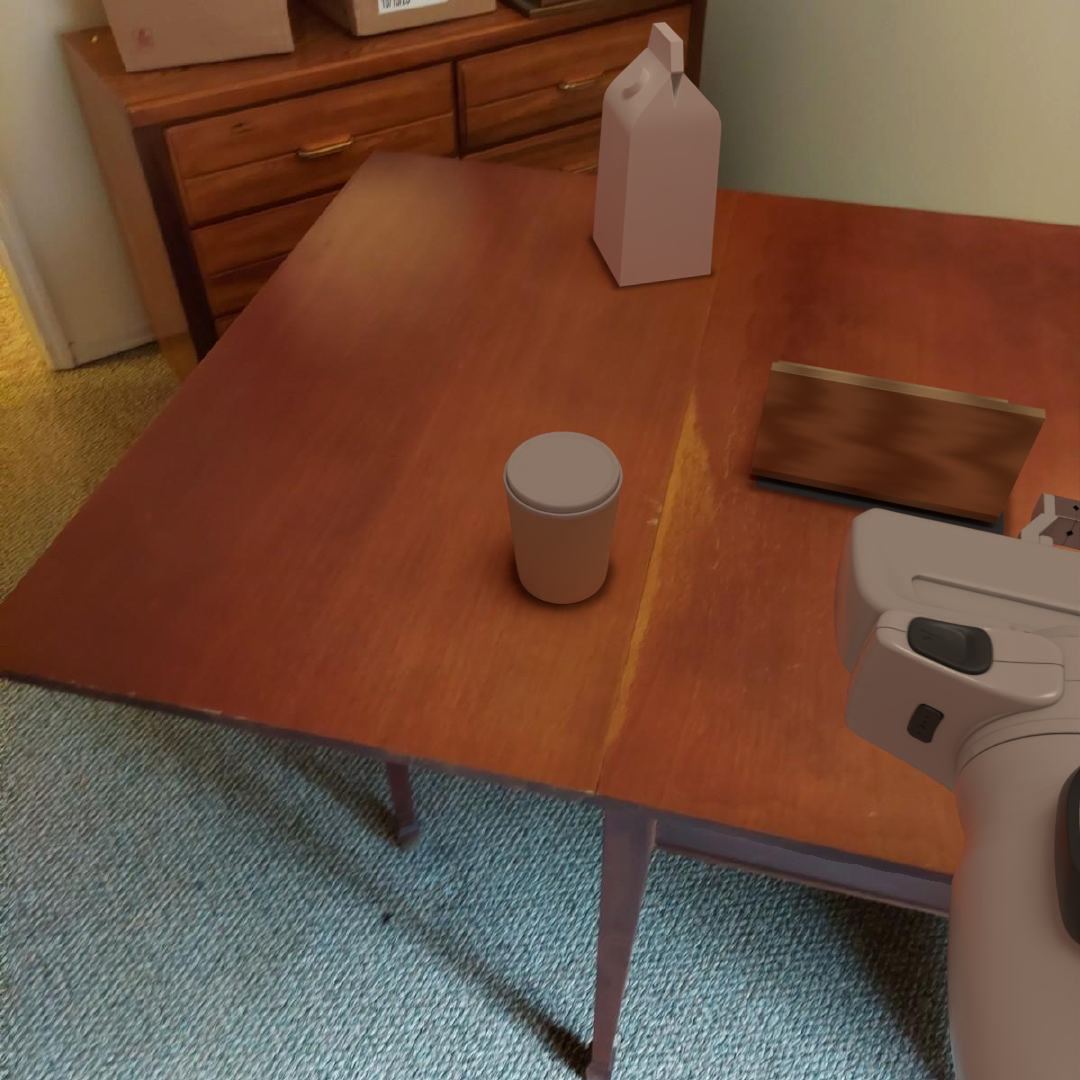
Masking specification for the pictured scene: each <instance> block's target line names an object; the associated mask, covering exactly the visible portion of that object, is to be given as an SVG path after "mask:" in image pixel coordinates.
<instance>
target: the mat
mask: <svg viewBox="0 0 1080 1080" xmlns="http://www.w3.org/2000/svg"><path fill="white" fill-rule="evenodd" d="M757 477H758V478H757V481H756V485H755V487H758V488H761V489H767V490H770V491H771V490H772V491H777V492H781V493H786V494H790V495H796V496H799V497H804V498H809V499H814V500H819V501H823V502H827V503H833V504H838V505H841V506H845V507H850V508H851V507H852V508H855V509H860V510H864V511H867V510H869V509H873V508H878V509H884V510H888V511H893V512H897V513H901V514H906V515H911V516H915V517H920V518H925V519H929V520H934V521H938V522H943V523H948V524H952V525H957V526H961V527H966V528H971V529H975V530H980V531H985V532H989V533H994V534H998V535H1003V536H1004V516H1005V515H1004V514H1005V513H1004V509H1005V507H1004V508H1003V510H1002V512H1001V515H1000V517H999V519H998V521H997V523H991V522H986V521H981V520H976V519H971V518H967V517H962V516H957V515H952V514H947V513H942V512H937V511H932V510H927V509H922V508H917V507H912V506H907V505H902V504H897V503H892V502H887V501H882V500H877V499H873V498H868V497H863V496H858V495H853V494H848V493H843V492H838V491H833V490H828V489H823V488H818V487H813V486H808V485H803V484H798V483H793V482H788V481H783V480H779V479H774V478H769V477H764V476H759V475H758V476H757Z"/></svg>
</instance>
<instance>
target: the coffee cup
mask: <svg viewBox="0 0 1080 1080" xmlns="http://www.w3.org/2000/svg"><path fill="white" fill-rule="evenodd" d="M622 468H623V467H622V465H621V463H620V461H619V460H618V457H617V455H615V453H614V452H613V450H612V449H611V448H610V447H609V446H608V445H606V444H605V443H604V442H602V441H601V440H599V439H598V438H595V437H593V436H590V435H587V434H585V433H581V432H574V431H551V432H550V431H549V432H546V433H541V434H537V435H535V436H533V437H531V438H528V439H527V440H525V441H523V442H522V443H520V445H519V446H517V447H516V448H514V450H513V451H512V453H511V454H510V456H509V458H508V459H507V462H506V463H505V466H504V468H503V472H502V480H503V486H504V490H505V492H506V501H507V507H508V514H509V522H510V530H511V537H512V542H513V543H512V544H513V550H514V557H515V563H516V564H515V565H516V570H517V575H518V578H519V581H520V583H521V585H522V586H523V587H524V589H525V590H526V591H527V592H528V593H529V594H531V595H532V596H533V597H535V598H536V599H539V600H541V601H542V602H546V603H550V604H555V605H570V604H576V603H580V602H582V601H584V600H587V599H589V598H591V597H592V596H593V595H595V594H596V593H597V592H598V591H599V590H600V589H601V588H602V586H603V584H604V583H605V581H606V577H607V574H608V569H609V563H610V556H611V551H612V546H613V545H612V544H613V539H614V532H615V525H616V519H617V512H618V506H619V497H620V493H621V489H622V485H623V483H624V482H623V480H624V474H623V469H622Z"/></svg>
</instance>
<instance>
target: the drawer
mask: <svg viewBox="0 0 1080 1080" xmlns="http://www.w3.org/2000/svg"><path fill="white" fill-rule="evenodd" d="M769 371H770V372H769V376H768V381H767V386H766V390H765V395H764V400H763V405H762V411H761V415H760V420H759V421H760V422H759V424H758V425H759V426H758V431H757V436H756V442H755V445H754V451H753V457H752V461H751V467H750V471H749V474H750V475H753V476H758V477H759V476H764V477H769V478H774V479H779V480H783V481H788V482H793V483H798V484H803V485H808V486H813V487H818V488H823V489H828V490H833V491H838V492H843V493H848V494H853V495H858V496H863V497H868V498H873V499H877V500H882V501H887V502H892V503H897V504H902V505H907V506H912V507H917V508H922V509H927V510H932V511H937V512H942V513H947V514H952V515H957V516H962V517H967V518H971V519H976V520H981V521H986V522H991V523H997V521H998V519H999V517H1000V515H1001V512H1002V510H1003V508H1004V509H1005V506H1006V504H1007V502H1008V500H1009V498H1010V496H1011V494H1012V492H1013V489H1014V488H1015V487H1014V486H1015V485H1016V483H1017V481H1018V479H1019V476H1020V474H1021V472H1022V470H1023V468H1024V467H1025V466H1024V465H1025V463H1026V461H1027V459H1028V457H1029V455H1030V453H1031V450H1032V449H1033V446H1034V444H1035V443H1036V440H1037V438H1038V437H1039V434H1040V432H1041V429H1042V427H1043V425H1044V423H1045V421H1046V419H1047V415H1046V409H1045V408H1038V407H1033V406H1027V405H1022V404H1016V403H1010V402H1009V400H1008V399H1004V398H998V397H991V396H986V395H982V394H976V393H975V394H974V393H969V392H963V391H958V390H953V389H946V388H941V387H934V386H929V385H923V384H918V383H913V382H905V381H901V380H894V379H888V378H882V377H879V376H878V377H877V376H871V375H867V374H860V373H854V372H849V371H842V370H837V369H832V368H825V367H820V366H815V365H808V364H803V363H797V362H791V361H786V360H777V362H775V361H773V362H771V367H770V370H769Z"/></svg>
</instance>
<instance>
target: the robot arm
mask: <svg viewBox="0 0 1080 1080" xmlns="http://www.w3.org/2000/svg"><path fill="white" fill-rule="evenodd" d="M1054 545H1055V546H1054ZM1059 546H1060V547H1059ZM1062 547H1064V548H1062ZM1068 548H1069V549H1068ZM1072 549H1073V550H1072ZM834 584H835V585H834V598H833V625H834V626H833V627H834V640H835V647H836V651H837V654H838V657H839V659H840V661H841V663H842V665H843V666H844V668H845V669H846V670H847V671H848V673H849V674H850V678H849V682H848V686H847V690H846V696H845V701H844V710H843V721H844V723H845V725H846V727H847V728H848V729H849V731H851V732H852V733H853V734H855V735H856V736H857V737H859V738H861V739H863V740H864V741H866V742H868V743H869V744H872V745H873V746H876V747H877V748H879V749H881V750H883V751H884V752H886V753H888V754H890V755H892V756H894V757H895V758H897V759H899V760H901V761H903V762H904V763H906V764H908V765H909V766H911V767H913V768H914V769H916V770H917V771H919V772H921V773H923V774H924V775H926V776H927V777H929V778H931V779H932V780H933V781H935V782H936V783H938V784H940V785H941V786H942V787H944V788H945V789H947V790H948V791H950V792H951V793H953V794H954V797H955V798H954V800H955V807H956V812H957V816H958V819H959V822H960V826H961V829H962V833H963V850H962V854H961V857H960V860H959V862H958V864H957V867H956V869H955V870H954V871H955V872H954V874H953V877H952V879H951V884H950V890H949V900H948V901H949V904H948V921H947V922H948V924H947V951H946V952H947V955H946V988H947V989H946V991H947V992H946V993H947V1015H948V1016H947V1017H948V1030H949V1042H950V1050H951V1057H952V1065H953V1069H954V1075H955V1080H1080V500H1077V499H1073V498H1068V497H1064V496H1059V495H1055V494H1050V493H1045V492H1043V493H1041V494H1040V496H1039V498H1038V500H1037V501H1036V504H1035V506H1034V508H1033V510H1032V513H1031V516H1030V522H1029V523H1028V524H1026V526H1024V527H1023V528H1022V529H1020V532H1019V533H1018V535H1017V537H1012V536H1009V535H1004V534H1003V535H998V534H994V533H989V532H985V531H980V530H975V529H971V528H966V527H961V526H957V525H952V524H948V523H943V522H938V521H934V520H929V519H925V518H920V517H915V516H911V515H906V514H901V513H897V512H893V511H888V510H884V509H878V508H873V509H869V510H864V511H863V512H861V513H859V514H858V515H856V516H855V517H853V518H852V519H851V521H850V523H849V526H848V529H847V531H846V534H845V537H844V540H843V543H842V546H841V551H840V555H839V558H838V564H837V568H836V575H835V583H834Z"/></svg>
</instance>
